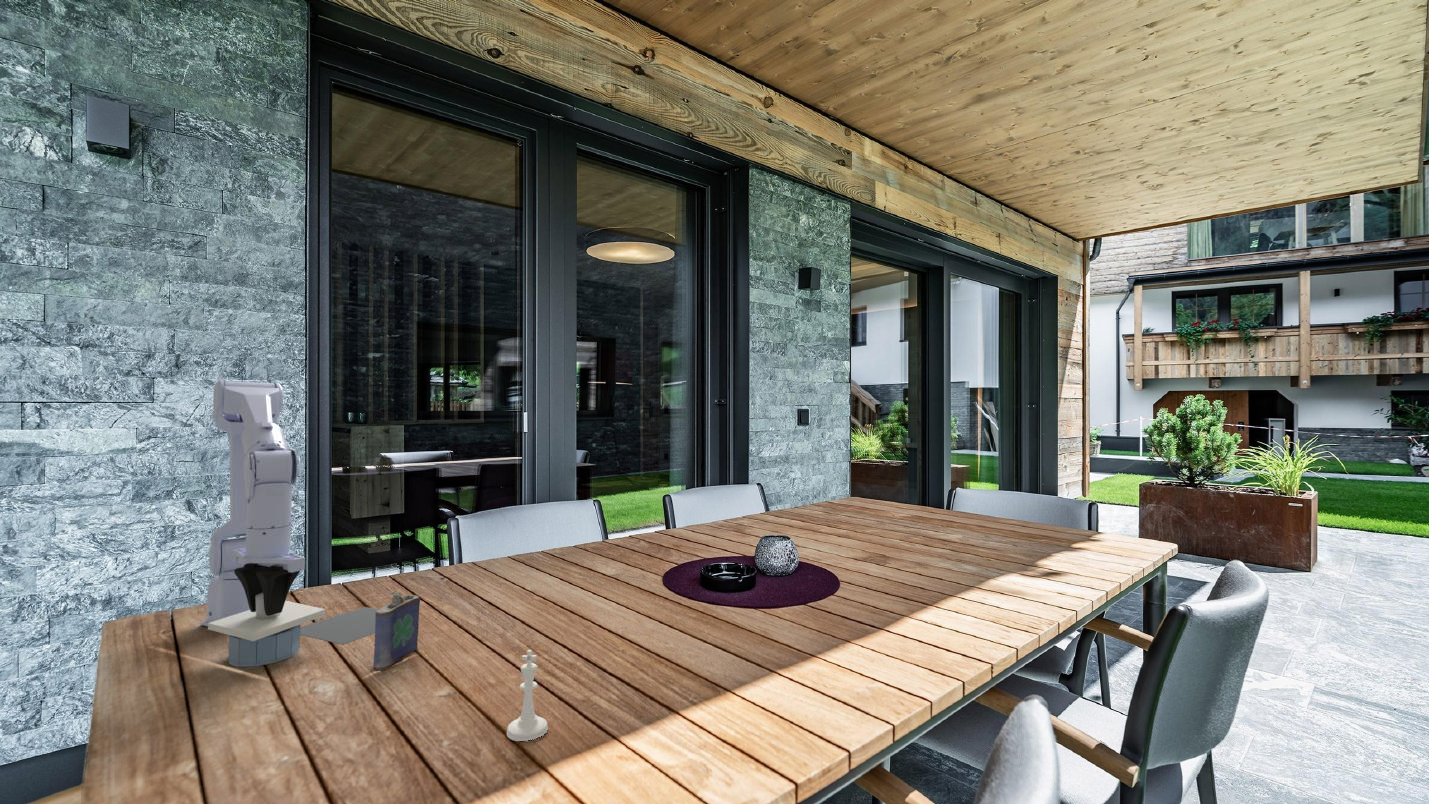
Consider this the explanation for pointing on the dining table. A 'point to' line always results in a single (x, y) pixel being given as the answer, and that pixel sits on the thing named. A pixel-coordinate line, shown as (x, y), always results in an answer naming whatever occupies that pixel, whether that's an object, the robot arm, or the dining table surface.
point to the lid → (265, 620)
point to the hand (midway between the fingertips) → (266, 611)
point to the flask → (396, 630)
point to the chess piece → (527, 707)
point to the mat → (343, 626)
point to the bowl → (264, 648)
